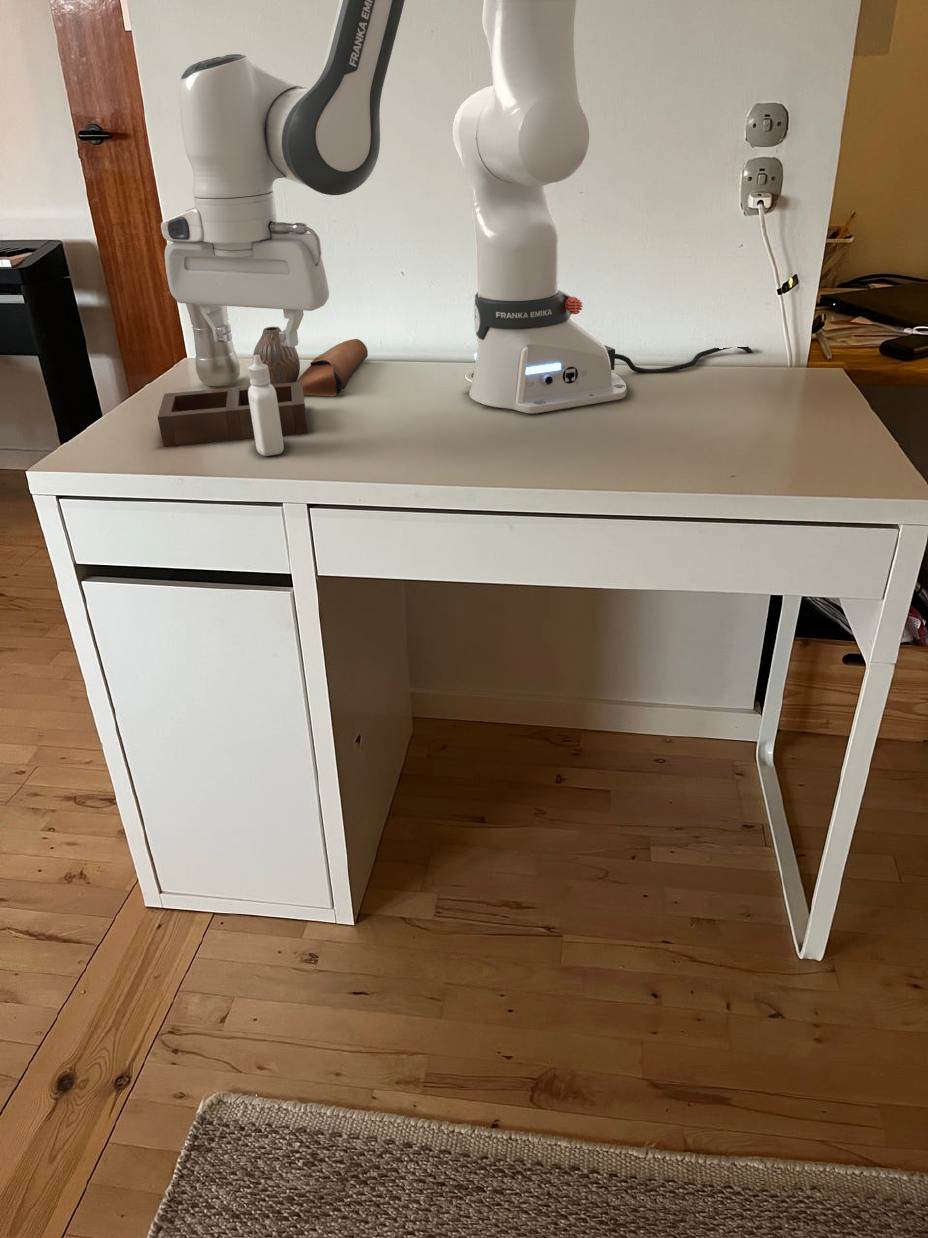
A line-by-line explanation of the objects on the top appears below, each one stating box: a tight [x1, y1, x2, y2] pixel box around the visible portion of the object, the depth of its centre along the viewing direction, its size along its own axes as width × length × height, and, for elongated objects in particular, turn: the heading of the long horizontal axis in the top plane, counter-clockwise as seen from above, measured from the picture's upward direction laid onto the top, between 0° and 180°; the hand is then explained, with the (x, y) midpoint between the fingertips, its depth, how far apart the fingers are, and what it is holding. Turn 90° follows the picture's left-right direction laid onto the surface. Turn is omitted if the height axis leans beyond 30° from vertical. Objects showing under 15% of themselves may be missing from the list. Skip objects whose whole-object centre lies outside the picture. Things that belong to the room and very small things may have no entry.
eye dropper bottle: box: [247, 355, 285, 457], centre depth 119 cm, size 4×6×12 cm
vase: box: [252, 326, 301, 384], centre depth 143 cm, size 7×7×9 cm
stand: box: [156, 382, 309, 447], centre depth 129 cm, size 19×10×4 cm, turn 100°
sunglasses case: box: [296, 338, 369, 398], centre depth 148 cm, size 18×7×7 cm, turn 174°
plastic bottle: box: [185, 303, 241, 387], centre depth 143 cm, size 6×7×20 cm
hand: (256, 343), depth 116 cm, fingers open, 8 cm apart
